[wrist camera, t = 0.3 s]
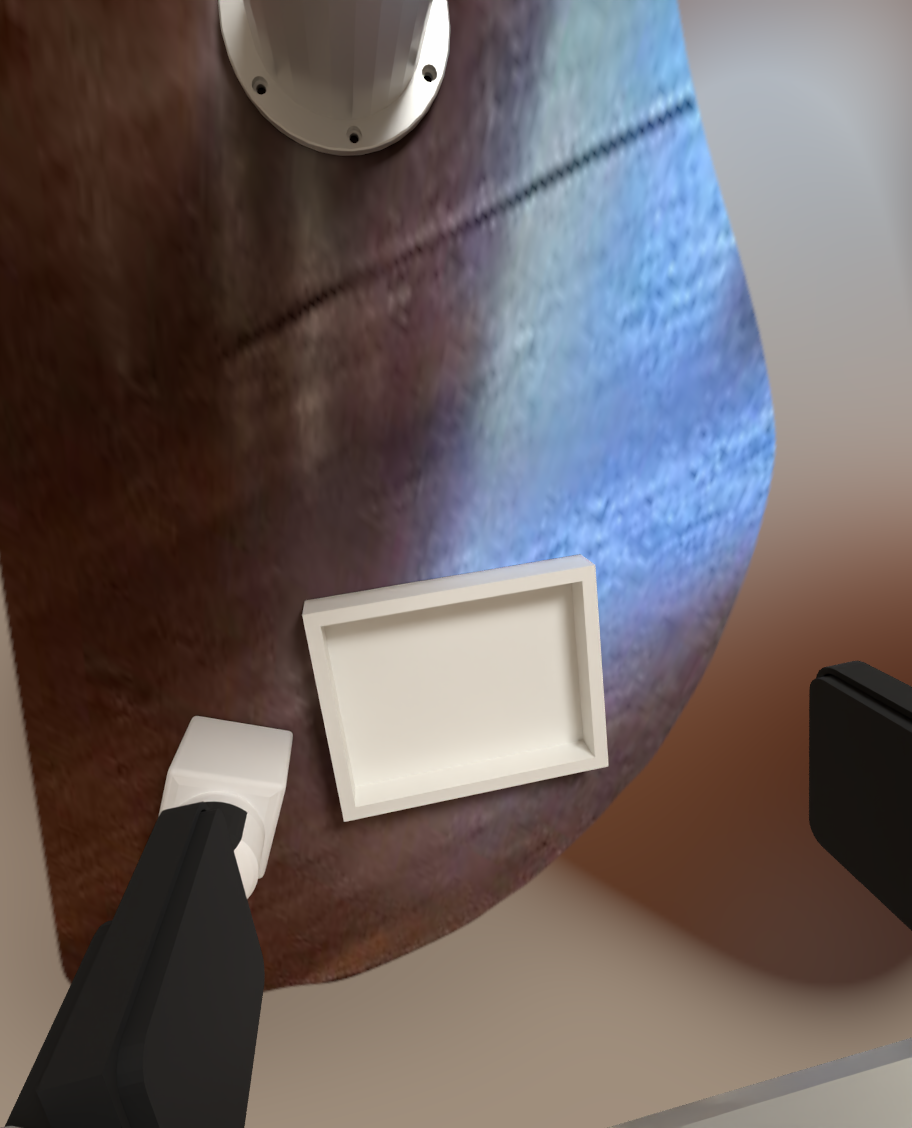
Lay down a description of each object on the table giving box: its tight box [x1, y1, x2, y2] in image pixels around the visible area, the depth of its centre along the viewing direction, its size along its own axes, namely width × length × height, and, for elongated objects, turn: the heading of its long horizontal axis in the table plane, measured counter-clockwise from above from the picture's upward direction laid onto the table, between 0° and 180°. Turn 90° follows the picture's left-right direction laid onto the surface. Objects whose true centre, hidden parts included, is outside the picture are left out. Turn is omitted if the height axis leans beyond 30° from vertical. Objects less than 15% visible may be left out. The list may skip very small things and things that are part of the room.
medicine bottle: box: [159, 716, 293, 899], centre depth 42 cm, size 7×7×12 cm
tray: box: [302, 554, 608, 822], centre depth 48 cm, size 16×20×3 cm
